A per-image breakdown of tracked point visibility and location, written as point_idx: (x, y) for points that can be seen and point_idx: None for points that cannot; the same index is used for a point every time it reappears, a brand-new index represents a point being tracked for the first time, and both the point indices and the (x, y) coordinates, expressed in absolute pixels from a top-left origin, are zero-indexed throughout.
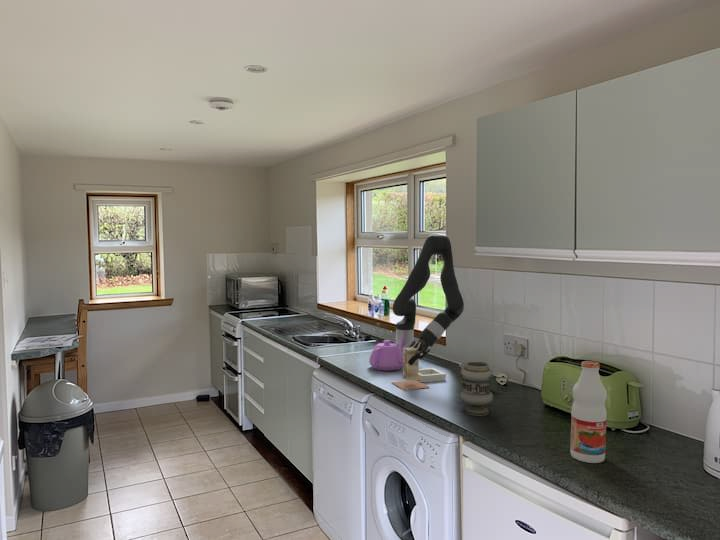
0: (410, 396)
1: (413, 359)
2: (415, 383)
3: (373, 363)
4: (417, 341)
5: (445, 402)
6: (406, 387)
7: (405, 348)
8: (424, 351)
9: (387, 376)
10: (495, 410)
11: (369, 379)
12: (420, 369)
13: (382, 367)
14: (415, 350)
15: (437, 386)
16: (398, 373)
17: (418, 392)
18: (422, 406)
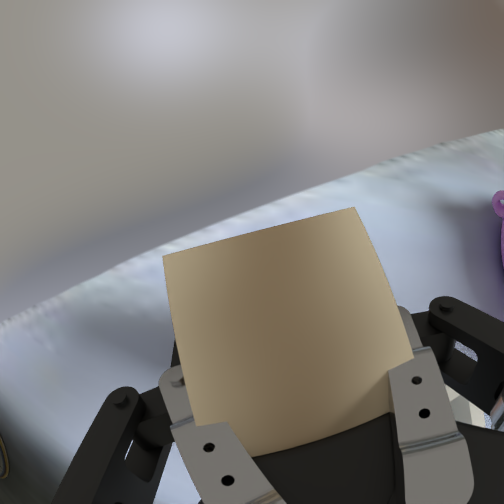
0: (101, 317)
1: (176, 357)
2: None
3: (497, 193)
4: (466, 495)
5: (35, 417)
6: None
7: (324, 237)
8: (115, 501)
9: (442, 260)
10: (3, 491)
11: (381, 182)
12: (476, 420)
13: (502, 238)
14: (196, 402)
15: None
16: (488, 313)
17: (149, 371)
18: (16, 323)
